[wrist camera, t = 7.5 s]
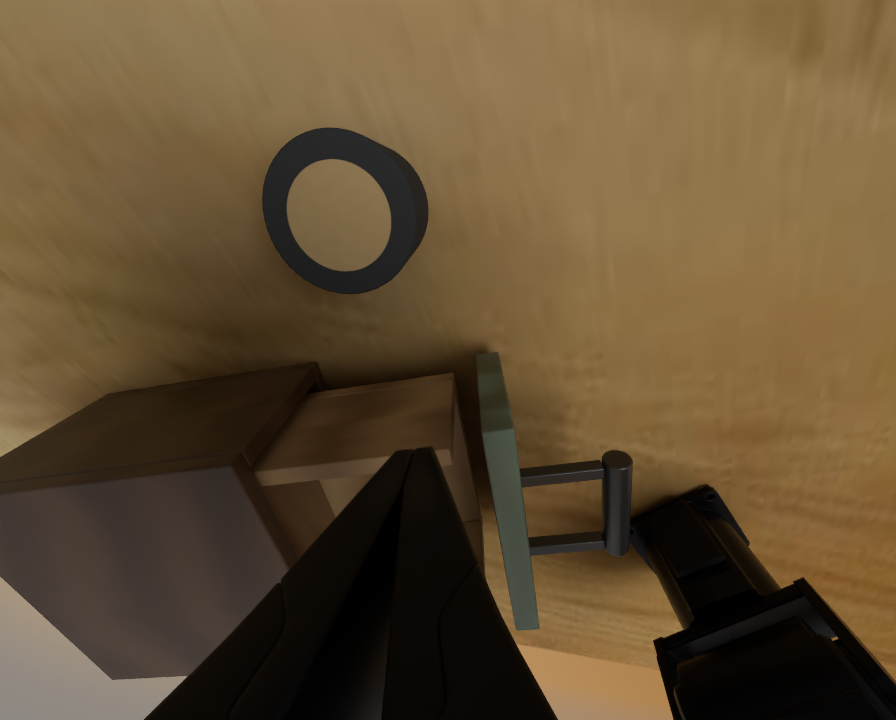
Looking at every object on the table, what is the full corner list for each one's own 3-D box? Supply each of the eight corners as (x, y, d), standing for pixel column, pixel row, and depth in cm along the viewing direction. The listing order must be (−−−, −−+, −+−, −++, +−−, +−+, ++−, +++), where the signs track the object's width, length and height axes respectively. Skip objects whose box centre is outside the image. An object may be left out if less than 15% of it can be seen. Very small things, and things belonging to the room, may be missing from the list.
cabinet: (317, 361, 21) (230, 465, 13) (378, 527, 27) (343, 668, 19) (108, 393, 22) (-81, 504, 15) (208, 543, 28) (111, 680, 20)
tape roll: (452, 220, 17) (448, 232, 13) (368, 290, 19) (340, 321, 15) (372, 112, 16) (337, 84, 11) (288, 199, 17) (229, 204, 13)
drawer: (592, 336, 19) (655, 411, 12) (594, 510, 24) (640, 623, 18) (276, 383, 21) (197, 468, 14) (342, 535, 26) (305, 644, 20)
